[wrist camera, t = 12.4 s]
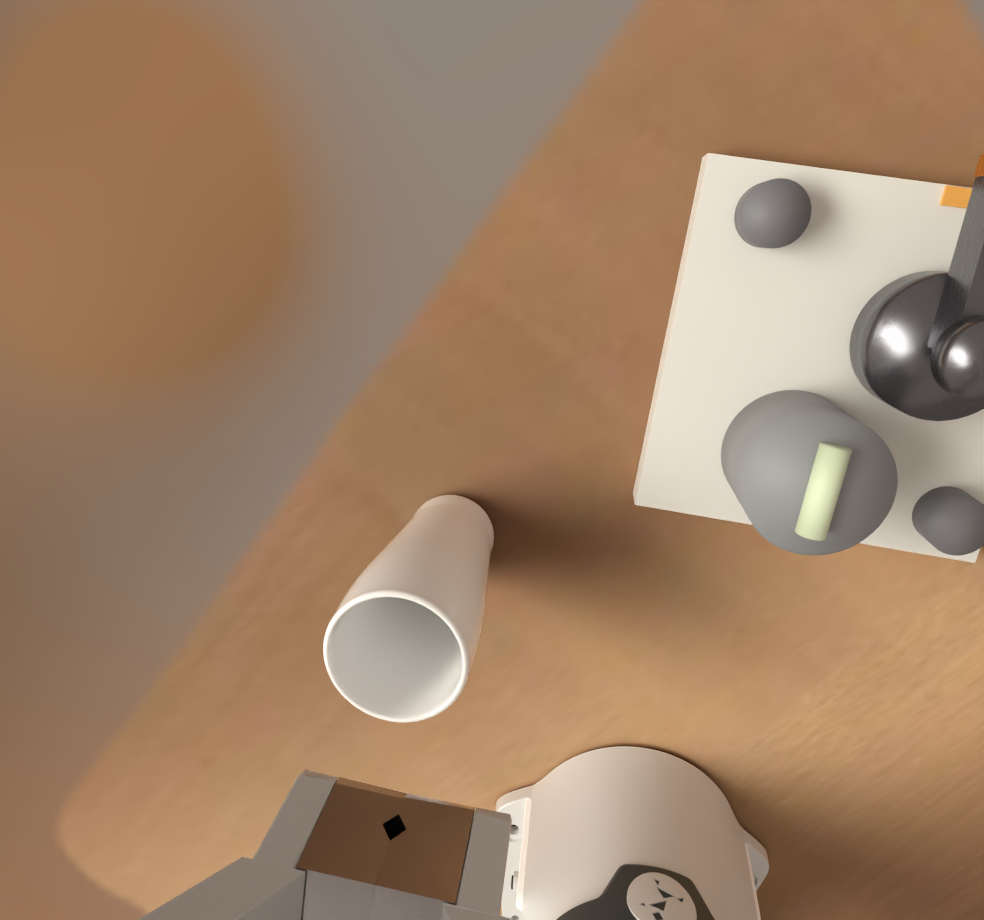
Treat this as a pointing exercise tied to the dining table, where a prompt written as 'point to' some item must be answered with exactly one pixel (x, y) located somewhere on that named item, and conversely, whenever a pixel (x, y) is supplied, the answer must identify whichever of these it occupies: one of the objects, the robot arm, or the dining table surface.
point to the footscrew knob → (929, 331)
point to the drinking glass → (414, 615)
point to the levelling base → (805, 367)
